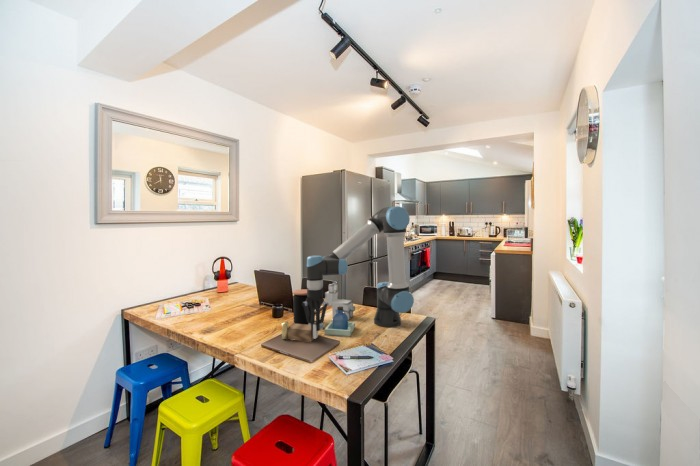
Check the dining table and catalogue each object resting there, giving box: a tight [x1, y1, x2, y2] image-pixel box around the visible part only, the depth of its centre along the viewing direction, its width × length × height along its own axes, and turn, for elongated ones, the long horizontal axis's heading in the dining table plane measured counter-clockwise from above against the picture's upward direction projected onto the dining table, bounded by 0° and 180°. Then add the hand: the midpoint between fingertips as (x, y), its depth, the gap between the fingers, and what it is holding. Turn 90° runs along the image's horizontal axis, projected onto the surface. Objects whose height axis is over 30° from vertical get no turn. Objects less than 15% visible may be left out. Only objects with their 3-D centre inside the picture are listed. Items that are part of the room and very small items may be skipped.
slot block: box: [308, 322, 325, 330], centre depth 153 cm, size 8×12×2 cm, turn 168°
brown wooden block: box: [287, 323, 314, 343], centre depth 144 cm, size 12×7×6 cm, turn 76°
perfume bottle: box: [332, 307, 349, 330], centre depth 153 cm, size 6×6×12 cm
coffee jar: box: [292, 288, 311, 325], centre depth 167 cm, size 11×11×18 cm
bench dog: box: [281, 321, 290, 340], centre depth 144 cm, size 3×3×8 cm
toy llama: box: [324, 282, 356, 321], centre depth 176 cm, size 8×18×20 cm, turn 66°
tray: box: [324, 320, 356, 338], centre depth 153 cm, size 13×13×3 cm
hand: (315, 337), depth 140 cm, fingers closed
